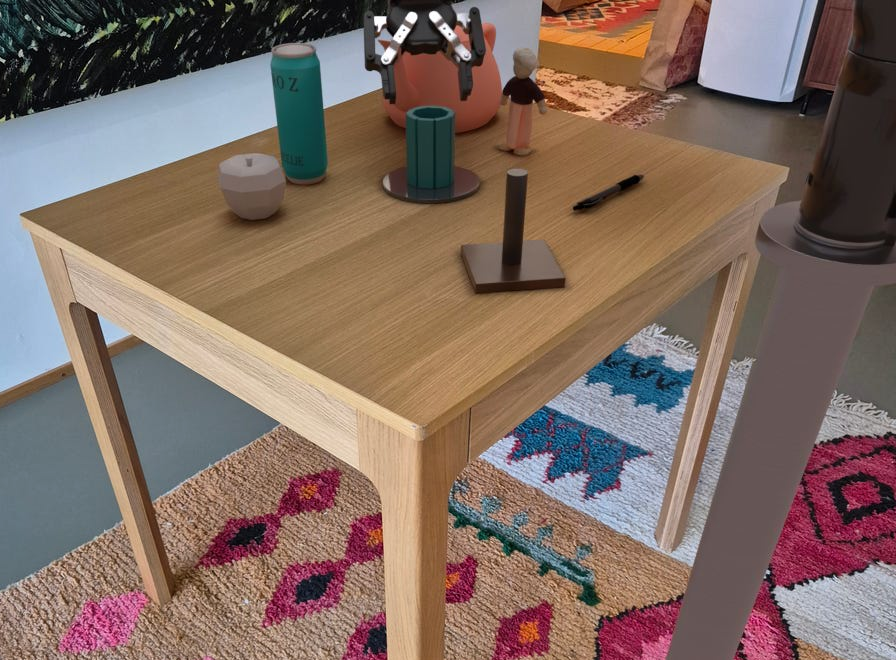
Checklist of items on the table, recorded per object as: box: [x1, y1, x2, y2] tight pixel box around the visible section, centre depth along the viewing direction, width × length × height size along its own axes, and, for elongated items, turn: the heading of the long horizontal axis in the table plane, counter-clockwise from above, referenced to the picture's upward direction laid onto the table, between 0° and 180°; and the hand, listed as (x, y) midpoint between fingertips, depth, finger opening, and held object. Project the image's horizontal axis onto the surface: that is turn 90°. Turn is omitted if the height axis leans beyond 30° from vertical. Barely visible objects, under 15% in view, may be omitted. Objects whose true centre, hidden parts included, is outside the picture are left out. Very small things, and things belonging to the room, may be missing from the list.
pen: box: [572, 173, 645, 212], centre depth 99 cm, size 14×2×1 cm, turn 135°
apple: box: [217, 152, 287, 221], centre depth 95 cm, size 8×8×7 cm
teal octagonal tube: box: [405, 105, 456, 189], centre depth 101 cm, size 6×6×8 cm
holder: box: [460, 168, 567, 294], centre depth 82 cm, size 9×9×10 cm
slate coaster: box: [382, 165, 481, 204], centre depth 103 cm, size 12×12×1 cm
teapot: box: [377, 22, 503, 134], centre depth 118 cm, size 25×17×13 cm
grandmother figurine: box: [498, 46, 548, 156], centre depth 108 cm, size 8×4×13 cm, turn 55°
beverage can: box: [269, 42, 329, 185], centre depth 101 cm, size 6×6×15 cm
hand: (429, 99), depth 98 cm, fingers open, 8 cm apart
